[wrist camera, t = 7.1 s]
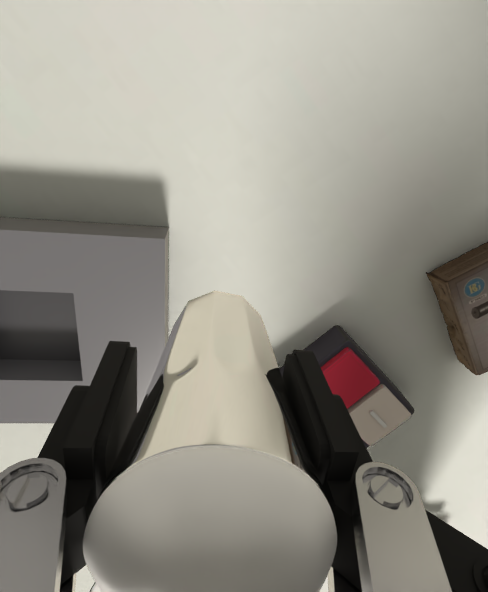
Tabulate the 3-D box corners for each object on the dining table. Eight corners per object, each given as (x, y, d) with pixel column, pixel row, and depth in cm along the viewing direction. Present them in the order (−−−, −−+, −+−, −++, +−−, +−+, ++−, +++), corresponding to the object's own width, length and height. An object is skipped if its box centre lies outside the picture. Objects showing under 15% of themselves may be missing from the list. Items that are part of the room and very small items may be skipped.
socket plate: (168, 227, 28) (164, 241, 25) (167, 399, 35) (164, 428, 32) (-133, 208, 26) (-181, 222, 23) (-72, 397, 33) (-103, 428, 29)
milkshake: (115, 309, 14) (-98, 671, 5) (253, 253, 13) (314, 550, 4) (172, 400, 16) (98, 790, 7) (296, 355, 15) (405, 718, 6)
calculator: (421, 417, 34) (293, 511, 37) (397, 388, 38) (282, 475, 41) (352, 342, 30) (213, 454, 33) (333, 318, 34) (210, 419, 37)
